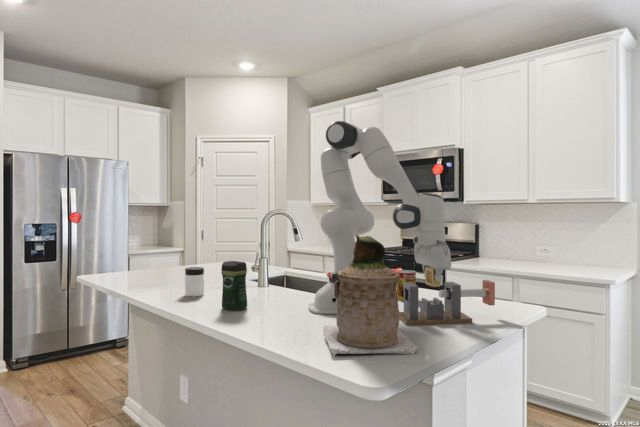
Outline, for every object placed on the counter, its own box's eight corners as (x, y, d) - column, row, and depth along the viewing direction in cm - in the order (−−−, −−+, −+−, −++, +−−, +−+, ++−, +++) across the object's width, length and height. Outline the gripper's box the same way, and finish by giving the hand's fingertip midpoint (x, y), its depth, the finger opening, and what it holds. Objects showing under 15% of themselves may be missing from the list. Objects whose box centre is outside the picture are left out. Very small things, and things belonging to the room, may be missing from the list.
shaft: (442, 306, 154) (442, 283, 153) (437, 303, 159) (437, 281, 158) (494, 305, 156) (494, 282, 155) (487, 302, 161) (487, 279, 160)
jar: (203, 296, 197) (203, 269, 197) (184, 297, 195) (184, 270, 195) (204, 292, 206) (204, 266, 206) (186, 293, 204) (185, 267, 204)
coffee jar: (250, 307, 175) (250, 260, 175) (237, 312, 168) (236, 263, 168) (232, 305, 180) (231, 259, 180) (218, 309, 173) (217, 261, 173)
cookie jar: (420, 355, 120) (420, 236, 119) (329, 358, 118) (328, 237, 117) (397, 329, 144) (397, 230, 144) (321, 331, 142) (321, 231, 142)
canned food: (407, 302, 183) (407, 273, 183) (392, 299, 189) (392, 271, 189) (419, 299, 188) (419, 271, 188) (404, 296, 194) (404, 269, 194)
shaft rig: (406, 325, 149) (406, 288, 148) (396, 316, 161) (396, 281, 160) (472, 323, 151) (472, 286, 151) (457, 314, 163) (457, 280, 163)
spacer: (433, 286, 152) (433, 269, 152) (425, 284, 158) (425, 267, 158) (440, 286, 153) (440, 269, 153) (431, 283, 159) (431, 266, 159)
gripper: (455, 241, 146) (456, 283, 146) (426, 237, 166) (427, 274, 166) (438, 242, 144) (438, 284, 145) (411, 238, 164) (411, 275, 164)
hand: (432, 279), depth 155 cm, fingers closed on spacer, 6 cm apart
